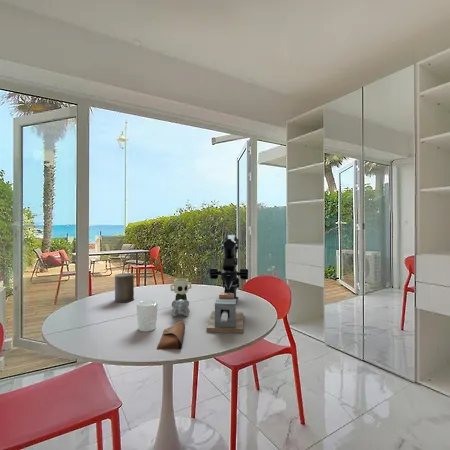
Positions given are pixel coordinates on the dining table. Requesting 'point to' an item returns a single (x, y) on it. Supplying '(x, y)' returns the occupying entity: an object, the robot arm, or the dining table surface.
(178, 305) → the elephant statuette
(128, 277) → the pillar candle
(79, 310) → the dining table surface
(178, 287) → the character mug
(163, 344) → the sunglasses case
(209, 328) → the bearing base
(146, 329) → the white cup
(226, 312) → the shaft
